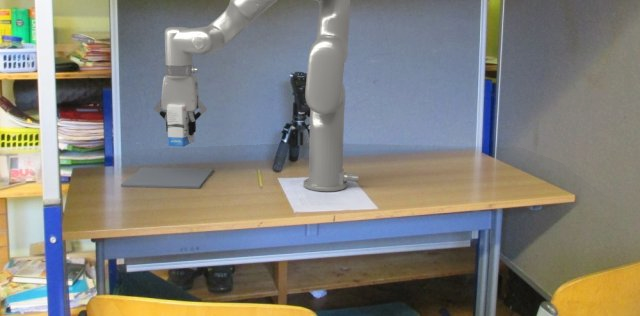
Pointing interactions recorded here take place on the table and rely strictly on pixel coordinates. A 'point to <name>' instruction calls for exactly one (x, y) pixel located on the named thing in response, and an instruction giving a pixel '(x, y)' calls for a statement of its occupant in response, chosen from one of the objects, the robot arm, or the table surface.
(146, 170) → the slate mat
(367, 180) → the table surface
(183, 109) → the ink box
